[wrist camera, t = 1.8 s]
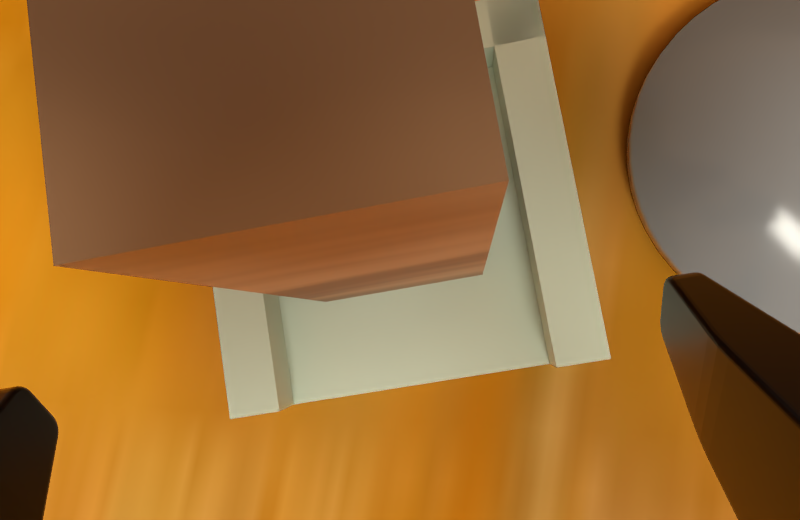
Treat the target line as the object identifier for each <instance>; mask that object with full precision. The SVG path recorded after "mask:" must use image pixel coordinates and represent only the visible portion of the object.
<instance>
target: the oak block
mask: <svg viewBox="0 0 800 520" xmlns="http://www.w3.org/2000/svg"><path fill="white" fill-rule="evenodd" d="M27 6H28V16H29V26H30V36H31V46H32V56H33V66H34V75H35V85H36V95H37V105H38V115H39V125H40V135H41V144H42V154H43V164H44V174H45V184H46V194H47V204H48V213H49V223H50V233H51V243H52V253H53V263H54V266H60V267H68V268H75V269H83V270H90V271H98V272H105V273H113V274H120V275H128V276H135V277H143V278H150V279H158V280H165V281H173V282H180V283H188V284H195V285H203V286H210V287H218V288H225V289H233V290H240V291H248V292H255V293H263V294H270V295H278V296H285V297H293V298H300V299H308V300H315V301H323V302H329V301H334V300H340V299H346V298H352V297H357V296H363V295H369V294H375V293H380V292H386V291H392V290H398V289H403V288H409V287H415V286H421V285H426V284H432V283H438V282H444V281H449V280H455V279H461V278H467V277H472V276H478V275H483V271H484V268H485V264H486V260H487V257H488V253H489V250H490V246H491V243H492V239H493V235H494V232H495V228H496V225H497V221H498V218H499V214H500V211H501V207H502V203H503V200H504V196H505V193H506V189H507V186H508V182H509V178H508V173H507V167H506V162H505V157H504V152H503V146H502V141H501V136H500V131H499V125H498V120H497V115H496V110H495V105H494V99H493V94H492V89H491V84H490V78H489V73H488V68H487V63H486V57H485V52H484V47H483V42H482V36H481V31H480V26H479V21H478V15H477V10H476V5H475V0H27Z"/></svg>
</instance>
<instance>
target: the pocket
mask: <svg viewBox="0 0 800 520" xmlns="http://www.w3.org/2000/svg"><path fill="white" fill-rule="evenodd" d="M475 5H476V10H477V15H478V21H479V26H480V31H481V36H482V42H483V47H484V52H485V57H486V63H487V68H488V73H489V78H490V84H491V89H492V94H493V99H494V105H495V110H496V115H497V120H498V125H499V131H500V136H501V141H502V146H503V152H504V157H505V162H506V167H507V173H508V178H509V182H508V186H507V189H506V193H505V196H504V200H503V203H502V207H501V211H500V214H499V218H498V221H497V225H496V228H495V232H494V235H493V239H492V243H491V246H490V250H489V253H488V257H487V260H486V264H485V268H484V271H483V275H478V276H472V277H467V278H461V279H455V280H449V281H444V282H438V283H432V284H426V285H421V286H415V287H409V288H403V289H398V290H392V291H386V292H380V293H375V294H369V295H363V296H357V297H352V298H346V299H340V300H334V301H329V302H323V301H315V300H308V299H300V298H293V297H285V296H278V295H270V294H263V293H255V292H248V291H240V290H233V289H225V288H218V287H213V292H214V300H215V308H216V315H217V323H218V331H219V338H220V346H221V354H222V361H223V369H224V376H225V384H226V392H227V399H228V407H229V415H230V419H234V418H240V417H247V416H253V415H259V414H266V413H272V412H278V411H281V410H283V409H285V408H287V407H290V406H292V405H294V404H300V403H306V402H312V401H319V400H325V399H331V398H337V397H344V396H350V395H356V394H363V393H369V392H375V391H382V390H388V389H394V388H400V387H407V386H413V385H419V384H426V383H432V382H438V381H445V380H451V379H457V378H463V377H470V376H476V375H482V374H489V373H495V372H501V371H508V370H514V369H520V368H526V367H533V366H539V365H545V364H551V365H553V366H555V367H563V366H569V365H576V364H582V363H588V362H594V361H601V360H607V359H611V356H610V351H609V346H608V341H607V336H606V331H605V326H604V321H603V316H602V311H601V307H600V302H599V297H598V292H597V287H596V282H595V277H594V272H593V267H592V262H591V257H590V252H589V248H588V243H587V238H586V233H585V228H584V223H583V218H582V213H581V208H580V203H579V198H578V193H577V189H576V184H575V179H574V174H573V169H572V164H571V159H570V154H569V149H568V144H567V139H566V134H565V130H564V125H563V120H562V115H561V110H560V105H559V100H558V95H557V90H556V85H555V80H554V75H553V71H552V66H551V61H550V56H549V51H548V46H547V41H546V36H545V31H544V26H543V21H542V16H541V12H540V7H539V2H538V0H478V1H475Z"/></svg>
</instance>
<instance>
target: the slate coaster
mask: <svg viewBox="0 0 800 520" xmlns="http://www.w3.org/2000/svg"><path fill="white" fill-rule="evenodd" d="M627 169H628V176H629V183H630V189H631V192H632V196H633V199H634V203H635V206H636V210H637V212H638V214H639V217H640V219H641V221H642V223H643V226H644V228H645V230H646V232H647V234H648V235H649V237H650V239H651V240H652V242H653V244H654V245H655V247H656V249H657V250H658V252H659V253H660V254H661V255H662V257H663V258H664V259H665V260H666V262H667V263H668V264H669V265H670V267H671V268H672V269H673V270H674V271H675V272H676V273H677V274H678V275H681V274H687V273H693V272H699V273H702V274H704V275H706V276H707V277H709V278H711V279H712V280H714V281H715V282H717V283H719V284H720V285H722V286H724V287H725V288H727V289H728V290H730V291H732V292H733V293H735V294H736V295H738V296H740V297H741V298H743V299H745V300H746V301H748V302H749V303H751V304H753V305H754V306H756V307H758V308H759V309H761V310H762V311H764V312H766V313H767V314H769V315H770V316H772V317H774V318H775V319H777V320H779V321H780V322H782V323H783V324H785V325H787V326H788V327H790V328H791V329H793V330H795V331H796V332H798V333H800V0H719V1H717V2H715V3H713V4H712V5H710V6H709V7H708V8H706V9H705V10H704V11H702V12H701V13H700V14H698V15H697V16H695V17H694V18H693V19H692V20H691V21H690V22H689V23H688V24H687V25H686V26H685V27H683V28H682V29H681V30H680V31H679V32H678V33H677V34H676V35H675V37H674V38H673V39H672V40H671V42H670V43H669V44H668V45H667V47H666V48H665V49H664V50H663V52H662V53H661V54H660V56H659V57H658V58H657V60H656V61H655V63H654V65H653V66H652V68H651V70H650V71H649V73H648V75H647V76H646V78H645V80H644V82H643V84H642V86H641V89H640V91H639V93H638V96H637V98H636V101H635V104H634V108H633V111H632V115H631V118H630V123H629V131H628V138H627Z"/></svg>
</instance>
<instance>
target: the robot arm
mask: <svg viewBox="0 0 800 520" xmlns="http://www.w3.org/2000/svg"><path fill="white" fill-rule="evenodd" d="M660 324H661V332H662V336H663V339H664V342H665V345H666V348H667V350H668V353H669V356H670V359H671V362H672V365H673V367H674V370H675V373H676V376H677V379H678V382H679V384H680V387H681V390H682V393H683V396H684V399H685V401H686V404H687V407H688V410H689V413H690V416H691V418H692V421H693V424H694V427H695V429H696V432H697V435H698V437H699V440H700V442H701V444H702V447H703V449H704V451H705V453H706V455H707V458H708V460H709V462H710V464H711V466H712V468H713V470H714V472H715V474H716V476H717V478H718V480H719V482H720V484H721V486H722V488H723V490H724V492H725V494H726V496H727V498H728V500H729V502H730V504H731V506H732V508H733V510H734V512H735V514H736V516H737V518H738V520H800V333H798V332H796V331H795V330H793V329H791V328H790V327H788V326H787V325H785V324H783V323H782V322H780V321H779V320H777V319H775V318H774V317H772V316H770V315H769V314H767V313H766V312H764V311H762V310H761V309H759V308H758V307H756V306H754V305H753V304H751V303H749V302H748V301H746V300H745V299H743V298H741V297H740V296H738V295H736V294H735V293H733V292H732V291H730V290H728V289H727V288H725V287H724V286H722V285H720V284H719V283H717V282H715V281H714V280H712V279H711V278H709V277H707V276H706V275H704V274H702V273H699V272H693V273H687V274H681V275H675V276H671V277H669V278H667V279H666V281H665V283H664V289H663V299H662V309H661V319H660ZM57 439H58V426H57V422H56V420H55V418H54V417H53V416H52V415H51V414H50V412H49V411H48V410H47V409H46V408H45V407H44V406H43V405H42V404H41V403H40V401H39V400H38V399H37V398H36V397H35V396H34V395H33V394H32V393H31V392H30V391H29V390H28V389H26V388H24V387H19V386H17V387H11V388H5V389H0V520H43V516H44V510H45V505H46V499H47V494H48V488H49V483H50V477H51V472H52V466H53V461H54V455H55V450H56V444H57Z"/></svg>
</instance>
